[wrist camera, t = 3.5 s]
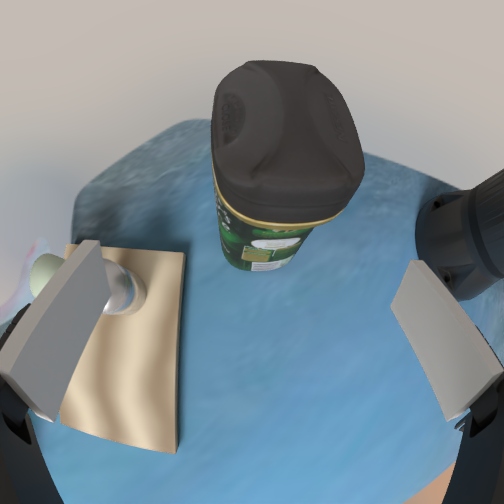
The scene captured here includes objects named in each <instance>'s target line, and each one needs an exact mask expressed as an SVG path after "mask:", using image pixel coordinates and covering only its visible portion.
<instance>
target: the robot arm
mask: <svg viewBox="0 0 504 504" xmlns="http://www.w3.org/2000/svg"><path fill="white" fill-rule="evenodd" d="M416 247H417V253H418V257H419V260H410V262H409V265H408V267H407V270H406V272H405V275H404V277H403V279H402V282H401V284H400V286H399V289H398V291H397V293H396V295H395V297H394V300H393V302H392V304H391V306H390V308H391V310H392V312H393V313H394V315H395V317H396V319H397V320H398V322H399V324H400V326H401V328H402V329H403V331H404V333H405V335H406V337H407V339H408V341H409V342H410V344H411V346H412V348H413V350H414V352H415V354H416V356H417V358H418V360H419V362H420V364H421V366H422V368H423V370H424V372H425V374H426V376H427V378H428V380H429V382H430V385H431V387H432V389H433V391H434V393H435V396H436V398H437V400H438V402H439V405H440V407H441V409H442V412H443V414H444V416H445V419H446V421H449V420H452V419H454V418H456V417H458V416H460V415H461V414H462V413H463V412H464V411H466V410H467V409H468V408H470V410H471V411H470V412H469V413H468V414H467V415H466V416H465V417H464V418H463V419H461V420H460V421H459V422H458V423H457V424H456V426H455V428H454V429H457V428H458V427H460V426H461V425H462V424H463V423H465V424H464V425H463V426H462V427H461V428H460V429H459V431H462V432H463V436H462V440H461V444H460V449H459V453H458V456H457V460H456V464H455V467H454V470H453V474H452V477H451V480H450V483H449V486H448V488H447V492H446V494H445V497H444V499H443V502H442V504H504V367H503V365H502V364H501V362H500V361H499V359H498V357H497V356H496V354H495V353H494V351H493V349H492V348H491V346H489V345H488V344H489V343H488V342H487V340H486V339H485V338H484V336H483V334H482V333H481V332H480V330H479V329H478V327H477V326H476V325H474V323H473V322H472V321H471V319H470V318H469V317H468V315H467V314H466V312H465V311H464V310H463V308H462V307H461V306H460V305H459V303H458V302H459V301H465V300H470V299H472V298H474V297H476V296H478V295H479V294H480V293H482V292H483V291H485V290H486V289H487V288H489V287H490V286H492V285H493V284H494V283H496V282H497V281H498V280H499V279H502V278H504V169H502V170H501V171H499V172H498V173H496V174H495V175H493V176H492V177H490V178H488V179H487V180H485V181H484V182H482V183H481V184H479V185H478V186H476V187H475V188H473V189H471V190H463V191H456V192H449V193H443V194H440V195H438V196H436V197H435V198H433V199H432V200H430V201H429V202H427V203H426V204H425V205H424V206H423V208H422V209H421V211H420V213H419V216H418V219H417V224H416ZM111 295H112V294H111V290H110V287H109V283H108V279H107V274H106V270H105V266H104V261H103V256H102V252H101V247H100V241H98V240H84V241H83V242H82V243H81V244H80V245H79V246H78V247H77V248H76V249H75V250H74V252H73V253H72V254H71V255H70V256H69V257H68V258H67V260H66V261H65V262H64V263H63V264H62V265H61V267H60V268H59V269H58V270H57V271H56V273H55V274H54V275H53V276H52V278H51V279H50V280H49V281H48V283H47V284H46V285H45V286H44V288H43V289H42V290H41V292H40V293H39V294H38V296H37V297H36V298H35V300H34V301H33V302H32V304H30V303H29V304H27V305H26V306H25V307H24V308H22V309H21V310H20V311H19V312H18V313H17V315H16V316H15V317H14V319H13V320H12V324H10V325H9V326H8V328H7V329H6V333H5V332H4V334H3V335H2V337H1V338H0V504H64V502H63V501H62V499H61V497H60V495H59V493H58V491H57V489H56V486H55V484H54V482H53V480H52V478H51V475H50V473H49V471H48V468H47V466H46V463H45V461H44V458H43V456H42V453H41V450H40V447H39V445H38V442H37V439H36V435H35V432H34V429H33V426H32V422H31V419H30V417H29V415H28V414H27V411H28V408H30V409H31V410H32V411H33V412H34V413H35V414H36V415H37V416H39V417H41V418H43V419H46V420H48V421H50V422H53V423H55V420H56V418H57V415H58V412H59V409H60V406H61V404H62V401H63V398H64V396H65V393H66V391H67V388H68V386H69V383H70V381H71V378H72V376H73V373H74V371H75V369H76V366H77V364H78V362H79V360H80V357H81V355H82V353H83V351H84V349H85V346H86V344H87V342H88V340H89V338H90V336H91V334H92V332H93V330H94V328H95V326H96V324H97V322H98V320H99V318H100V316H101V314H102V312H103V310H104V308H105V306H106V304H107V302H108V300H109V299H110V297H111Z"/></svg>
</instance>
